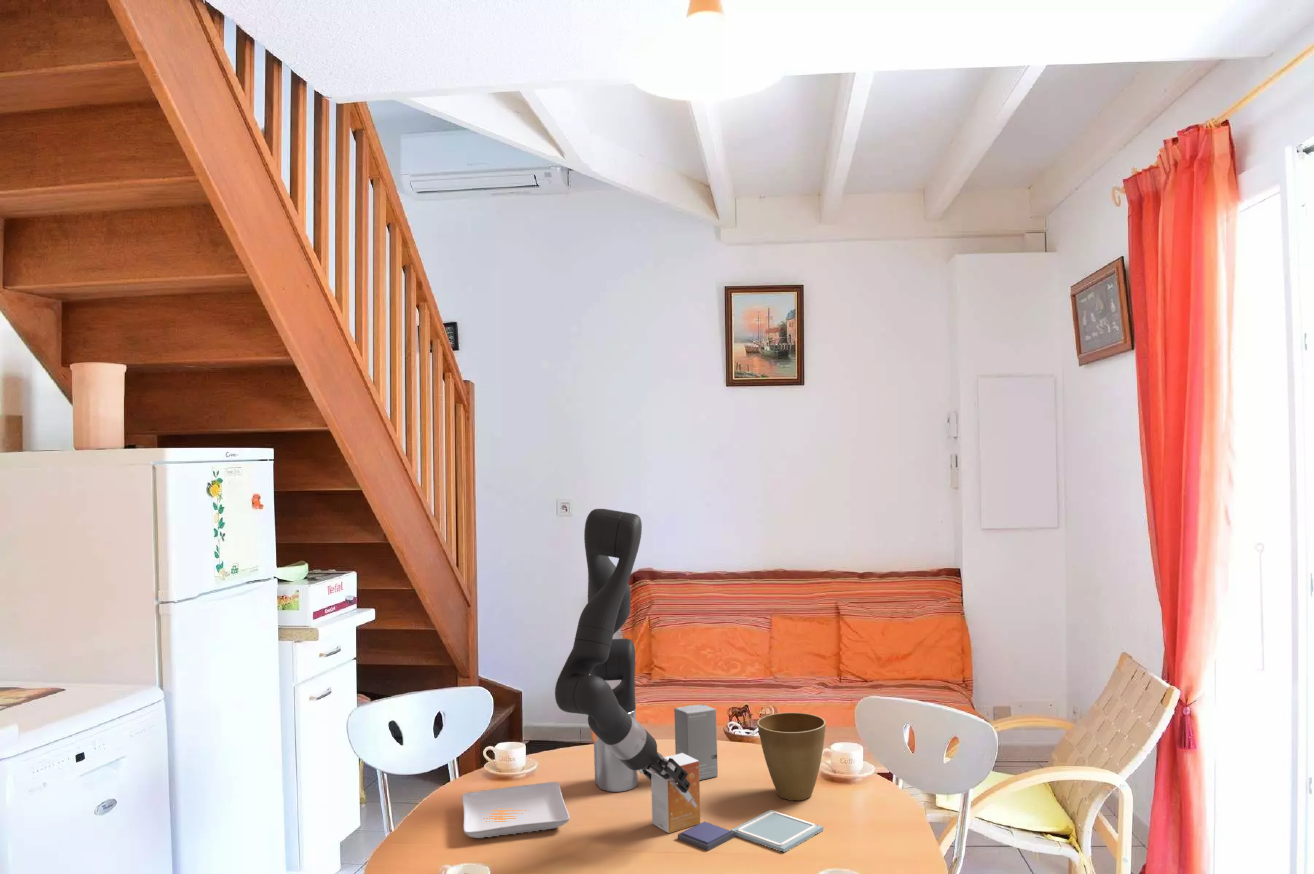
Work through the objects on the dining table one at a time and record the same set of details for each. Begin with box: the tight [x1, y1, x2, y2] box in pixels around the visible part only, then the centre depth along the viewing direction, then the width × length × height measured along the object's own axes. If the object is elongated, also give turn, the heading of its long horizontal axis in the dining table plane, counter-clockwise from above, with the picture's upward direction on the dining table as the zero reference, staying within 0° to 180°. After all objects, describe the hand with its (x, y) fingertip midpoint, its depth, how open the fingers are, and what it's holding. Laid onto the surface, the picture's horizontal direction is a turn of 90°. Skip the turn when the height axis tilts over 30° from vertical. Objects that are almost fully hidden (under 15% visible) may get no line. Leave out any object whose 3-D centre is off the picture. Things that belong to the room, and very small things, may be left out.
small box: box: [650, 753, 701, 834], centre depth 184 cm, size 8×6×13 cm
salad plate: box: [461, 781, 571, 839], centre depth 190 cm, size 21×21×3 cm
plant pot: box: [756, 712, 827, 801], centre depth 198 cm, size 15×15×16 cm
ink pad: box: [677, 821, 736, 851], centre depth 177 cm, size 8×8×1 cm
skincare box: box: [673, 703, 719, 781], centre depth 211 cm, size 8×7×16 cm
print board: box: [730, 809, 824, 853], centre depth 179 cm, size 13×13×1 cm
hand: (671, 783), depth 184 cm, fingers open, 8 cm apart
